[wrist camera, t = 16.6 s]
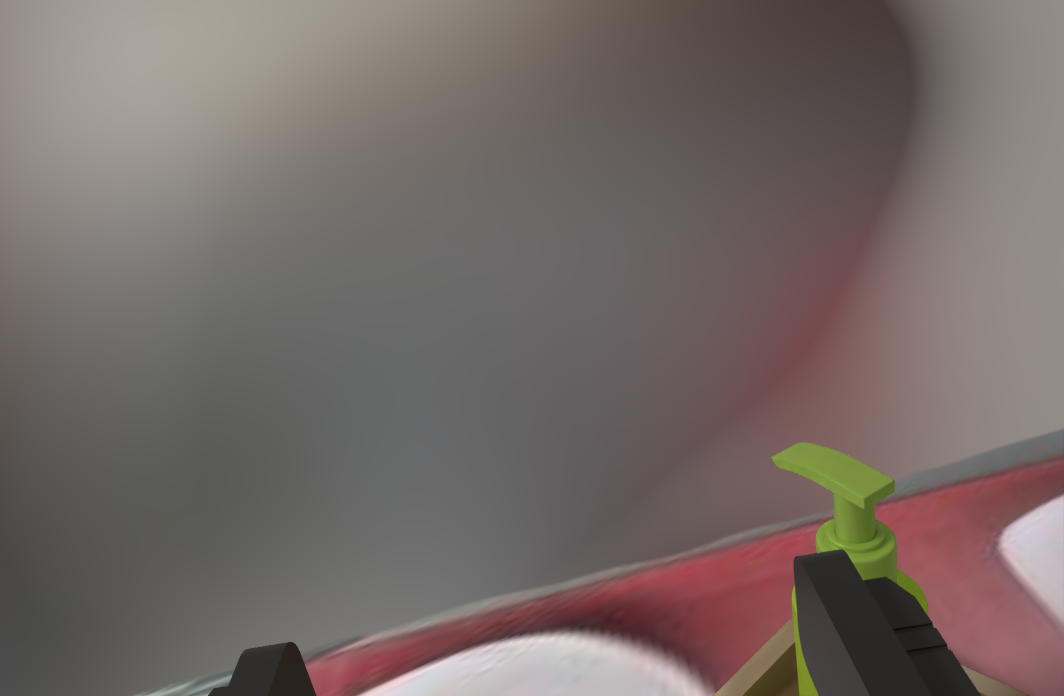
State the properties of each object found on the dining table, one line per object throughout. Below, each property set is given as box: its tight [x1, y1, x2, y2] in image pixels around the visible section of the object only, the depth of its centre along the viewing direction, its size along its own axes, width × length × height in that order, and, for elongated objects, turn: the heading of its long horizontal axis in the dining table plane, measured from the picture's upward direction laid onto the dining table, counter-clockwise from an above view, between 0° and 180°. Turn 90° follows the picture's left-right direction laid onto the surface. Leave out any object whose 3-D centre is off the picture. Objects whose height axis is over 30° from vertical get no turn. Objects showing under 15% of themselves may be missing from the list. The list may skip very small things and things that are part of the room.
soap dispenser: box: [772, 442, 928, 696], centre depth 41 cm, size 6×7×20 cm
